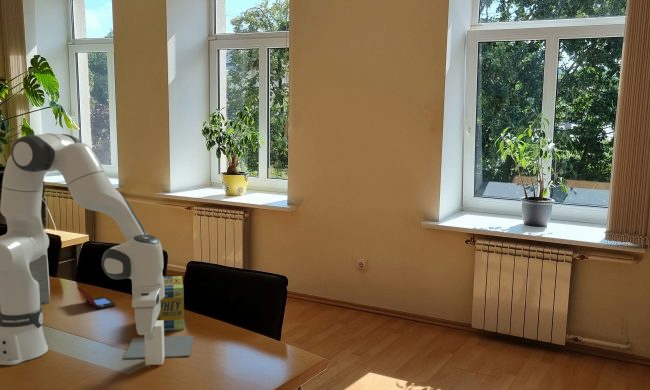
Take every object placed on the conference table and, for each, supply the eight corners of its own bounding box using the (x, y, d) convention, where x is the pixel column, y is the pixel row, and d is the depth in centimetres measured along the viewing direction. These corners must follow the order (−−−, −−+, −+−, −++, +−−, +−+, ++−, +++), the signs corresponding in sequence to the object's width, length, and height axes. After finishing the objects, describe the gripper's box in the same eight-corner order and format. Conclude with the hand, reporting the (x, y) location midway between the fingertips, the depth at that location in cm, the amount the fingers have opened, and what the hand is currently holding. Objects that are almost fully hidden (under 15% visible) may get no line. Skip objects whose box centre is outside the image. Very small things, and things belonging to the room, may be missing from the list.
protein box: (153, 332, 206) (152, 289, 204) (154, 317, 220) (152, 276, 218) (184, 330, 209) (183, 287, 206) (183, 315, 223) (182, 275, 221)
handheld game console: (116, 307, 232) (115, 288, 231) (88, 313, 225) (87, 294, 224) (104, 298, 241) (104, 281, 240) (77, 304, 234) (76, 286, 233)
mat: (123, 359, 184) (123, 357, 184) (133, 339, 200) (133, 337, 199) (189, 356, 186) (189, 355, 186) (193, 337, 202) (193, 335, 202)
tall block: (145, 366, 179) (144, 326, 178) (148, 359, 184) (146, 320, 182) (162, 365, 180) (161, 326, 178) (164, 358, 185) (163, 320, 183)
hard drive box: (29, 294, 245) (26, 246, 242) (49, 291, 248) (47, 245, 245) (28, 305, 231) (25, 255, 228) (50, 303, 234) (47, 253, 231)
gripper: (143, 281, 179) (145, 325, 181) (130, 303, 159) (132, 352, 161) (164, 281, 180) (166, 324, 182) (154, 302, 160) (156, 351, 162)
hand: (150, 338), depth 172 cm, fingers closed
